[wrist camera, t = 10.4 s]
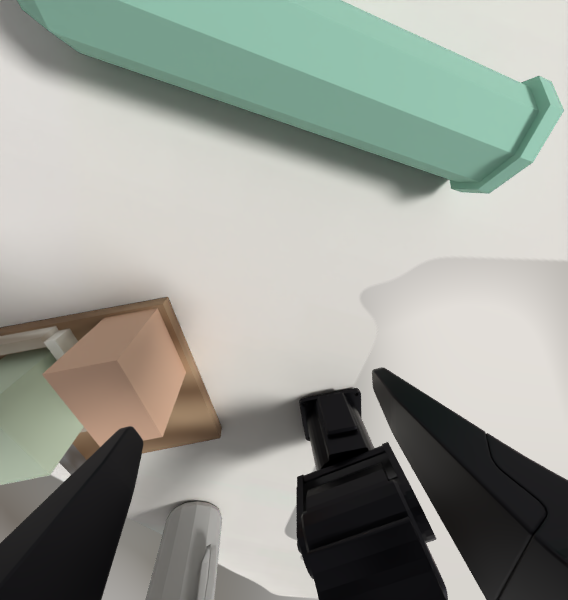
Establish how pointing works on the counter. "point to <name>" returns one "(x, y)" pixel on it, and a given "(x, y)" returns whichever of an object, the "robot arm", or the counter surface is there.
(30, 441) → the tea box
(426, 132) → the container
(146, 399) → the rust box
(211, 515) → the water bottle
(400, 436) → the robot arm
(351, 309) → the counter surface
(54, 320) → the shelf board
